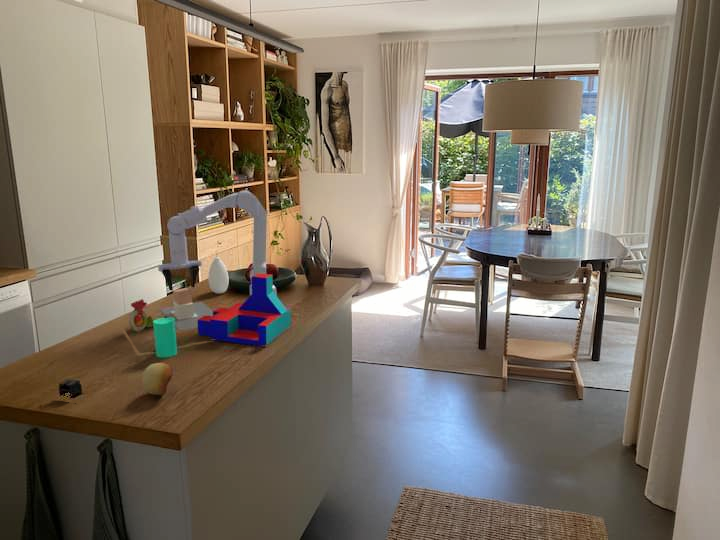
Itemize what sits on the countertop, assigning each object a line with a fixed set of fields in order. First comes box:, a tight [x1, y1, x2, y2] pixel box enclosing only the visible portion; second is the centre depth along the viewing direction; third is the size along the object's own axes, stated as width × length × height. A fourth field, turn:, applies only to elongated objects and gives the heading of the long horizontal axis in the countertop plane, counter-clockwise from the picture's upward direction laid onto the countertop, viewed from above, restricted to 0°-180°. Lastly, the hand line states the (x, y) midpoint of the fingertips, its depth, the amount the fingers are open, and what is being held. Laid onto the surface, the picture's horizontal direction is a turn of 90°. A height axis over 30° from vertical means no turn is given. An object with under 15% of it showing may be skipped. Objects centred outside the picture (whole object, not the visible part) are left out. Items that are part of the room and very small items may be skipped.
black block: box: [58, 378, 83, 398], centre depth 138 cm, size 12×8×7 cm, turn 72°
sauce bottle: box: [207, 251, 230, 294], centre depth 227 cm, size 8×8×18 cm
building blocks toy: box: [197, 273, 291, 346], centre depth 180 cm, size 19×25×18 cm
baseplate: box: [159, 301, 214, 332], centre depth 199 cm, size 16×30×1 cm, turn 32°
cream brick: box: [172, 299, 194, 318], centre depth 200 cm, size 5×9×4 cm, turn 32°
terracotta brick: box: [172, 287, 193, 305], centre depth 199 cm, size 5×5×4 cm
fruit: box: [141, 362, 174, 396], centre depth 138 cm, size 8×8×8 cm
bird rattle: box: [128, 299, 154, 332], centre depth 184 cm, size 6×11×9 cm
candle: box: [152, 314, 178, 358], centre depth 164 cm, size 6×6×12 cm
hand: (182, 288), depth 198 cm, fingers open, 7 cm apart
